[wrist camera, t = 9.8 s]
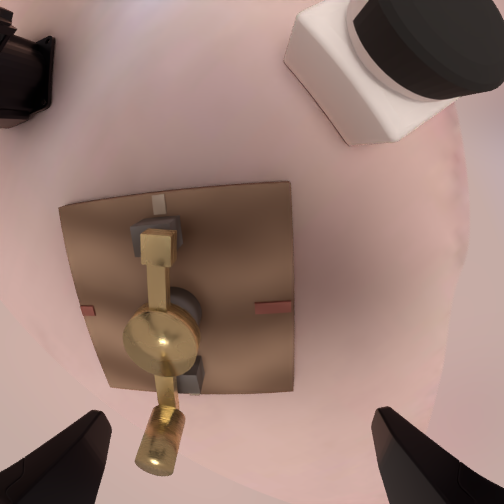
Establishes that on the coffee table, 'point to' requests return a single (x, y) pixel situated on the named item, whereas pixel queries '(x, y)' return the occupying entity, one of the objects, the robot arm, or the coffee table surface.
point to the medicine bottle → (394, 61)
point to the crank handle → (161, 351)
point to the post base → (193, 281)
